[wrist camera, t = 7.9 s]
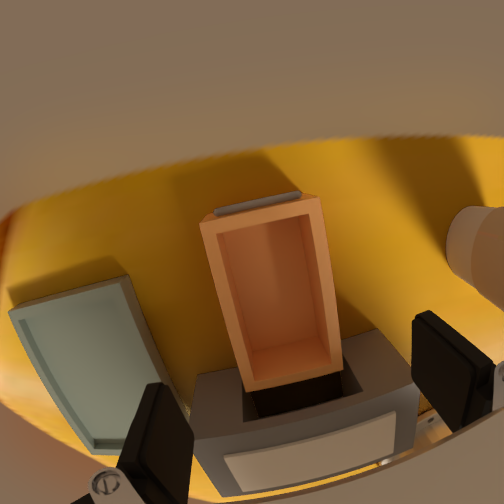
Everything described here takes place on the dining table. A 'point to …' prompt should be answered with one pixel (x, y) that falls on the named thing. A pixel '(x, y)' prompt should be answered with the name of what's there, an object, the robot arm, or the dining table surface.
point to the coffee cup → (479, 250)
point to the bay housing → (306, 424)
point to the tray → (93, 358)
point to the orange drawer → (275, 288)
